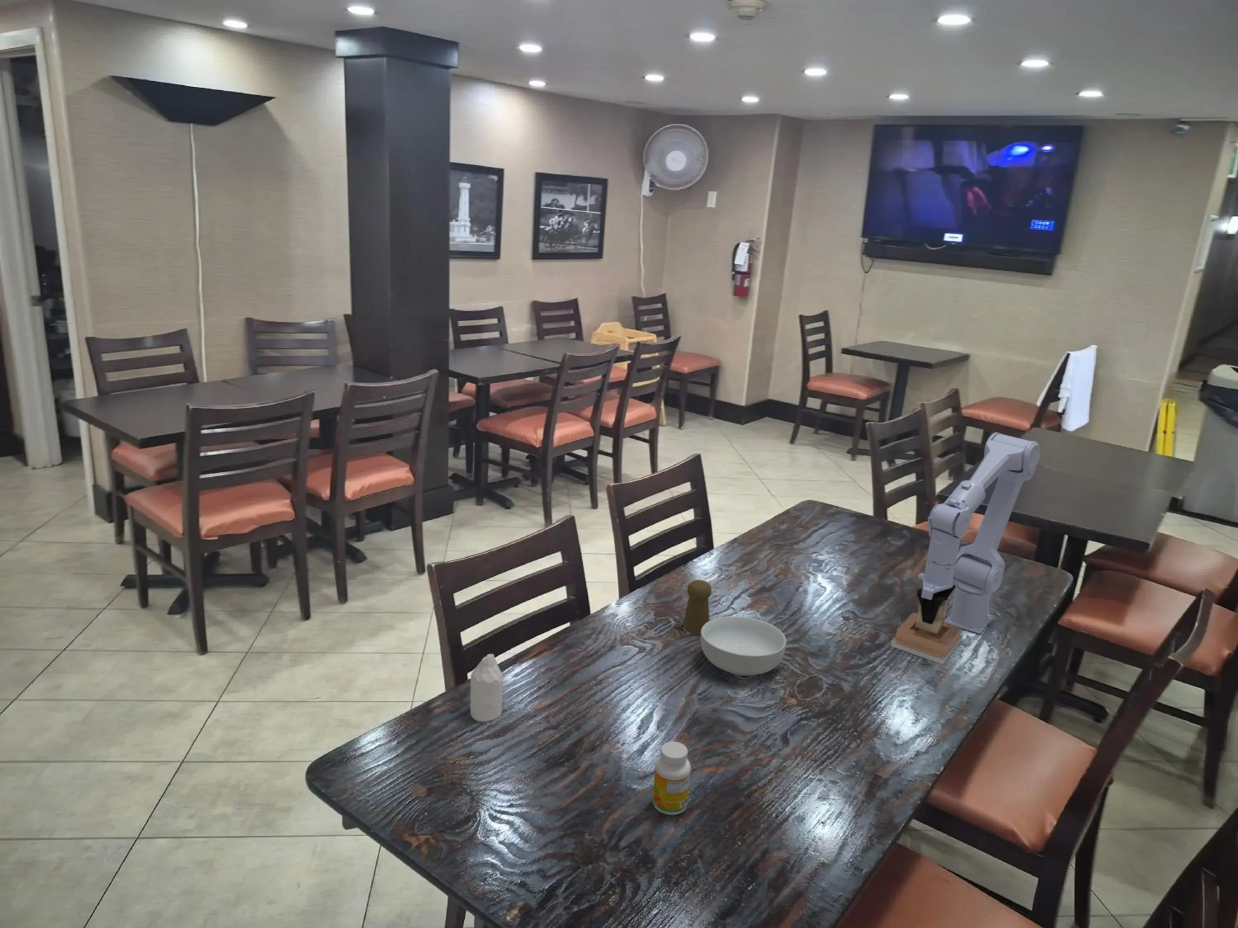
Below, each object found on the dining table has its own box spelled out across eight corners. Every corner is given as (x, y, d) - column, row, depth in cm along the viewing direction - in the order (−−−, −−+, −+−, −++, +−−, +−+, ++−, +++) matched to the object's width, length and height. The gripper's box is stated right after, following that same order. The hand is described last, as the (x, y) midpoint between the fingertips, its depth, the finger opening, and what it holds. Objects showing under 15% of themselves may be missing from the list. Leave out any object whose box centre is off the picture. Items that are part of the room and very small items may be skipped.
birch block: (922, 619, 178) (926, 594, 176) (942, 626, 175) (947, 601, 174) (915, 626, 175) (919, 601, 173) (936, 633, 172) (941, 608, 170)
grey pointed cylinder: (481, 641, 144) (509, 648, 142) (481, 699, 147) (508, 707, 146) (463, 656, 139) (492, 664, 137) (464, 717, 142) (492, 725, 140)
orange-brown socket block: (912, 623, 185) (914, 609, 184) (962, 639, 178) (964, 625, 177) (890, 646, 174) (893, 631, 173) (942, 664, 168) (945, 649, 167)
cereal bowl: (791, 657, 167) (795, 627, 165) (770, 697, 153) (774, 664, 151) (713, 637, 174) (716, 607, 172) (686, 673, 160) (689, 641, 157)
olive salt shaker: (708, 636, 174) (712, 590, 171) (680, 632, 175) (684, 586, 172) (711, 623, 180) (715, 578, 177) (684, 620, 181) (687, 575, 178)
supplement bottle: (650, 791, 126) (654, 738, 123) (684, 791, 126) (689, 737, 124) (654, 816, 121) (658, 761, 118) (690, 815, 121) (695, 760, 118)
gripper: (933, 545, 178) (923, 601, 182) (911, 564, 167) (901, 623, 171) (966, 554, 174) (955, 611, 178) (946, 574, 163) (935, 635, 167)
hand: (931, 618), depth 174 cm, fingers closed on birch block, 4 cm apart
